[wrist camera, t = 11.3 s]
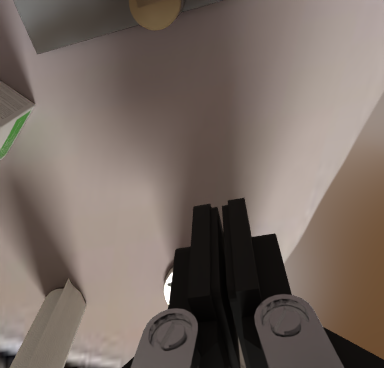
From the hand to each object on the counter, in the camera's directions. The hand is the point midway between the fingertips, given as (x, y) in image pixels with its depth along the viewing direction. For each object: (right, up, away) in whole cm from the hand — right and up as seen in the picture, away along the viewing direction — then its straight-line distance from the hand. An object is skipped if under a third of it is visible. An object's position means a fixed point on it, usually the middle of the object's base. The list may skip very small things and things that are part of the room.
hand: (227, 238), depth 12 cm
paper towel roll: (-20, -16, +43) cm, 50 cm away
